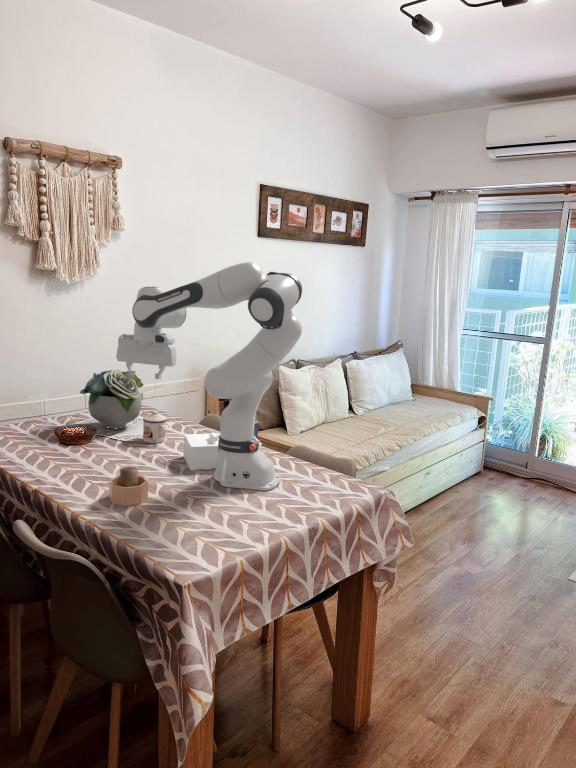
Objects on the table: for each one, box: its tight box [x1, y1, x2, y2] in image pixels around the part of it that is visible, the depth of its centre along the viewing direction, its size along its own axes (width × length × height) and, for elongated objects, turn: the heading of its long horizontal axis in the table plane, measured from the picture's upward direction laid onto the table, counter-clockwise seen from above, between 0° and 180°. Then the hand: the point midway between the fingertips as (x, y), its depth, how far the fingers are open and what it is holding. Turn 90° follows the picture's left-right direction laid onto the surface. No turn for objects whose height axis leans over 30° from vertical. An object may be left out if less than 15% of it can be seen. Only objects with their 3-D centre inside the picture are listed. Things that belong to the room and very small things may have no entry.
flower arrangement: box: [79, 369, 144, 428], centre depth 242 cm, size 25×25×24 cm
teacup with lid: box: [142, 410, 167, 444], centre depth 229 cm, size 12×9×12 cm
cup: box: [108, 475, 149, 507], centre depth 174 cm, size 10×10×6 cm
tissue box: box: [183, 432, 263, 471], centre depth 211 cm, size 14×25×11 cm, turn 109°
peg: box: [119, 466, 139, 487], centre depth 173 cm, size 5×5×8 cm
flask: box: [254, 420, 259, 440], centre depth 232 cm, size 9×3×11 cm, turn 144°
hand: (144, 377), depth 196 cm, fingers open, 8 cm apart
